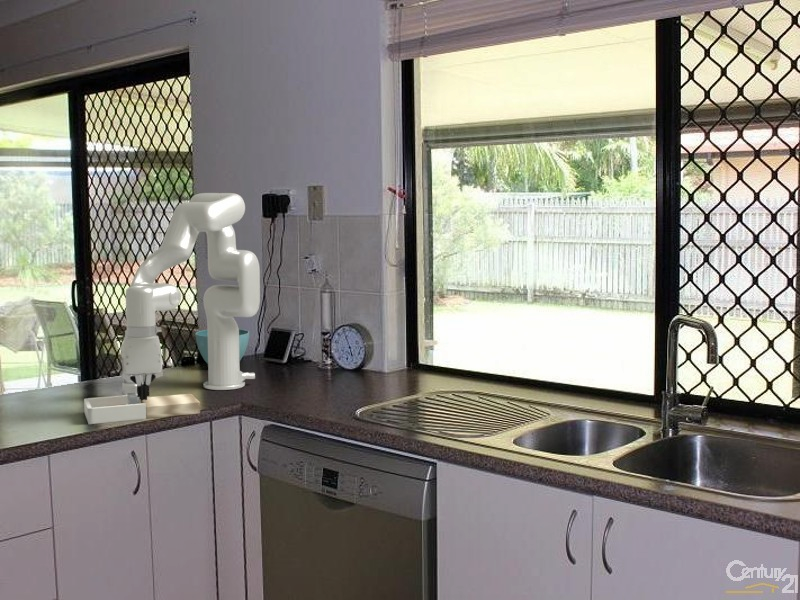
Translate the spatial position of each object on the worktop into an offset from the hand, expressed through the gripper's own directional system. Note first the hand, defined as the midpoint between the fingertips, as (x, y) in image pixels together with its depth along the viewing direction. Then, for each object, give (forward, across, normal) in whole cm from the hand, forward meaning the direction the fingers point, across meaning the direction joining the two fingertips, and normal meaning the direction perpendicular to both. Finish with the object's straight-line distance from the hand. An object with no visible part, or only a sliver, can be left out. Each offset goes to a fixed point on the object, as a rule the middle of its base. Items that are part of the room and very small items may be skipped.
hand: (143, 399), depth 237 cm
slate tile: (+1, +2, 0) cm, 2 cm away
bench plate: (+4, -7, 0) cm, 8 cm away
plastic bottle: (+4, 0, -20) cm, 20 cm away
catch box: (+4, +8, 0) cm, 8 cm away
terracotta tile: (+2, +7, 0) cm, 7 cm away
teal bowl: (+4, -35, -58) cm, 68 cm away
